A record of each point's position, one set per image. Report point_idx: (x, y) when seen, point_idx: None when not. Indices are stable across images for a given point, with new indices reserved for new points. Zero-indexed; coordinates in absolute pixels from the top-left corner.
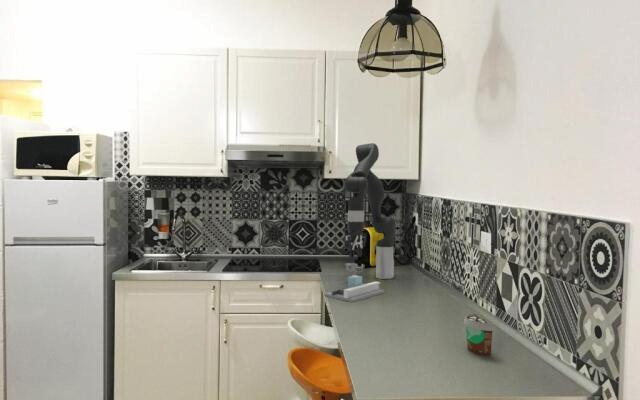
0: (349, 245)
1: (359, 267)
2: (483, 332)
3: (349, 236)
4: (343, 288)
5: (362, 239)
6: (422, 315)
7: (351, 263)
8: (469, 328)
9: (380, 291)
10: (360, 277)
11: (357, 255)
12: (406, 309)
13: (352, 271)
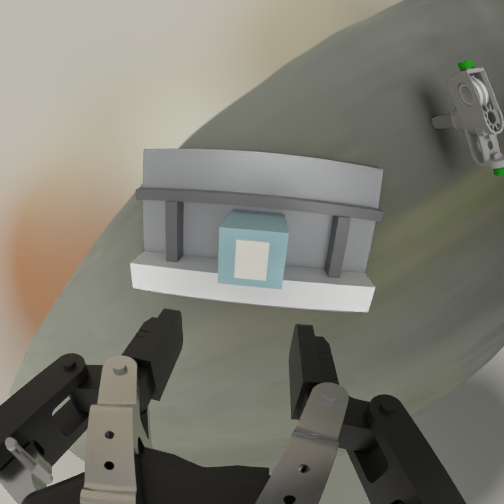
0: (61, 416)
1: (492, 143)
2: None
3: (15, 487)
4: (216, 195)
5: (387, 494)
6: (190, 434)
7: (494, 95)
8: None
9: (329, 310)
10: (263, 286)
11: (295, 331)
12: (205, 411)
13: (458, 112)
